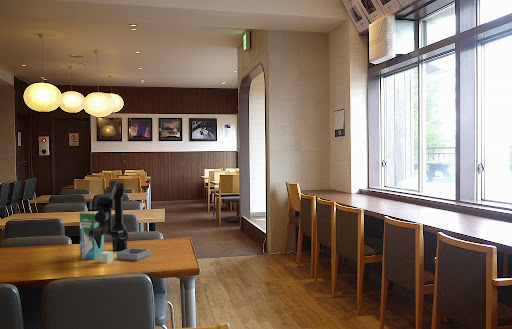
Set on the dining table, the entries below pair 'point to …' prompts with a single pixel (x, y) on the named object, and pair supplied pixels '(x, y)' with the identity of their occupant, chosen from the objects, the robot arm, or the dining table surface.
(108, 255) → the sage cube
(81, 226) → the milk carton
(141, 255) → the slate bin
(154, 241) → the dining table surface
